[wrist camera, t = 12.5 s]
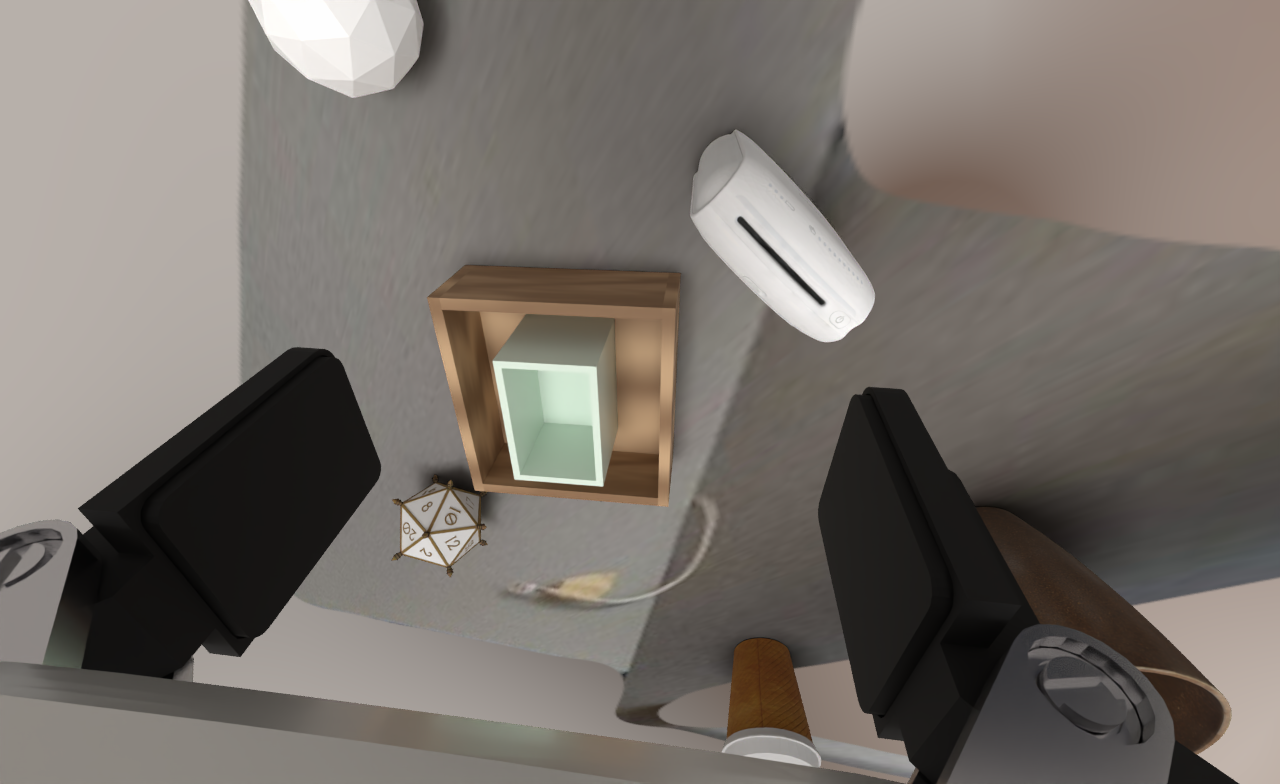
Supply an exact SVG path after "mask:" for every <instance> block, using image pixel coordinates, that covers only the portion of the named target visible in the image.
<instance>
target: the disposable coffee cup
mask: <svg viewBox="0 0 1280 784" xmlns="http://www.w3.org/2000/svg"><path fill="white" fill-rule="evenodd" d="M722 753H727V754H734V755H740V756H747V757H753V758H759V759H766V760H772V761H779V762H785V763H792V764H798V765H804V766H811V767H817V768H819V766H820V765H821V758H820V754H819V753H818V751H817V750H816V747H815V745H814V744H813V742H812V738H811V734H810V730H809V726H808V723H807V718H806V715H805V711H804V707H803V703H802V699H801V695H800V692H799V688H798V684H797V680H796V676H795V673H794V669H793V665H792V661H791V657H790V653H789V650H788V648H787V647H786V646H785V645H783V644H782V643H780V642H778V641H775V640H771V639H766V638H755V639H749V640H746V641H743V642H741V643H740V644H738V645H737V647H736V648H735V650H734V661H733V672H732V683H731V695H730V706H729V718H728V727H727V740H726V741H725V744H724V747H723V749H722Z"/></svg>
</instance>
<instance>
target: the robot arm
mask: <svg viewBox="0 0 1280 784" xmlns="http://www.w3.org/2000/svg"><path fill="white" fill-rule="evenodd" d="M380 472H381V464H380V460H379V458H378V455H377V453H376V450H375V447H374V445H373V442H372V440H371V437H370V434H369V432H368V429H367V427H366V424H365V421H364V419H363V416H362V414H361V411H360V408H359V406H358V403H357V401H356V398H355V395H354V393H353V390H352V388H351V385H350V382H349V380H348V377H347V375H346V372H345V369H344V367H343V365H342V363H341V361H340V360H339V359H337V358H335V357H334V355H333V354H332V353H331V352H330V351H328V350H325V349H315V348H301V347H295V348H291V349H289V350H287V351H286V352H284V353H283V354H282V355H281V356H279V357H278V358H277V359H275V360H274V361H273V362H271V363H270V364H269V365H267V366H266V367H265V368H263V369H262V370H261V371H259V372H258V373H257V374H255V375H254V376H253V377H251V378H250V379H249V380H247V381H246V382H245V383H243V384H242V385H241V386H239V387H238V388H237V389H235V390H234V391H233V392H232V393H230V394H229V395H228V396H226V397H225V398H224V399H222V400H221V401H220V402H218V403H217V404H216V405H214V406H213V407H212V408H210V409H209V410H208V411H206V412H205V413H204V414H202V415H201V416H200V417H198V418H197V419H196V420H194V421H193V422H192V423H191V424H189V425H188V426H186V427H185V428H184V429H182V430H181V431H180V432H179V433H177V434H176V435H175V436H173V437H172V438H171V439H169V440H168V441H167V442H165V443H164V444H163V445H161V446H160V447H159V448H157V449H156V450H155V451H153V452H152V453H151V454H149V455H148V456H147V457H145V458H144V459H143V460H142V461H140V462H139V463H138V464H136V465H135V466H133V467H132V468H131V469H130V470H128V471H127V472H126V473H125V474H123V475H122V476H120V477H119V478H118V479H116V480H115V481H114V482H112V483H111V484H110V485H108V486H107V487H106V488H104V489H103V490H102V491H100V492H99V493H98V494H96V495H95V496H94V497H93V498H91V499H90V500H88V501H87V502H86V503H85V504H83V505H82V506H81V507H79V508H78V509H79V510H80V511H81V513H82V514H83V515H84V516H85V517H86V518H87V519H88V520H89V521H90V522H91V523H92V524H93V527H92V528H91V529H89V530H88V531H87V532H86V533H84V534H82V533H81V532H80V531H79V530H78V529H77V528H76V527H75V526H74V525H73V524H72V523H70V522H67V521H61V520H46V521H38V522H33V523H29V524H25V525H21V526H18V527H15V528H12V529H10V530H7V531H4V532H2V533H0V784H904V783H899V782H894V781H890V780H885V779H879V778H875V777H870V776H866V775H861V774H856V773H849V772H843V771H836V770H830V769H824V768H817V767H811V766H804V765H798V764H792V763H785V762H779V761H772V760H766V759H759V758H753V757H747V756H740V755H734V754H727V753H720V752H714V751H706V750H699V749H691V748H684V747H677V746H669V745H663V744H655V743H648V742H641V741H634V740H626V739H619V738H612V737H604V736H597V735H589V734H583V733H575V732H568V731H560V730H554V729H546V728H539V727H532V726H524V725H517V724H509V723H502V722H494V721H486V720H479V719H472V718H464V717H457V716H449V715H442V714H434V713H426V712H419V711H412V710H404V709H396V708H389V707H381V706H373V705H366V704H358V703H351V702H343V701H335V700H327V699H320V698H313V697H305V696H297V695H290V694H281V693H273V692H266V691H258V690H250V689H242V688H234V687H226V686H219V685H211V684H202V683H195V682H193V663H194V661H193V660H194V658H193V654H194V653H195V652H196V651H197V649H198V648H199V647H200V646H201V645H203V646H204V647H205V648H206V649H207V650H208V652H209V653H213V654H221V655H229V656H236V657H241V656H242V654H243V653H244V652H245V650H246V649H247V647H248V646H249V645H250V643H251V642H252V641H253V639H254V638H256V637H258V636H260V635H262V634H263V633H264V632H265V631H266V630H267V629H268V628H269V627H270V625H271V624H272V623H273V621H274V620H275V619H276V617H277V616H278V614H279V613H280V612H281V611H282V609H283V608H284V606H285V605H286V604H287V602H288V601H289V600H290V598H291V597H292V596H293V594H294V593H295V592H296V590H297V589H298V588H299V586H300V585H301V584H302V582H303V581H304V579H305V578H306V577H307V575H308V574H309V573H310V571H311V570H312V569H313V567H314V566H315V565H316V563H317V562H318V561H319V559H320V558H321V557H322V555H323V554H324V552H325V551H326V550H327V548H328V547H329V546H330V544H331V543H332V542H333V540H334V539H335V538H336V536H337V535H338V534H339V532H340V531H341V529H342V528H343V527H344V525H345V524H346V523H347V521H348V520H349V519H350V517H351V516H352V515H353V513H354V512H355V511H356V509H357V508H358V507H359V505H360V504H361V502H362V501H363V500H364V498H365V497H366V496H367V494H368V493H369V492H370V490H371V489H372V488H373V486H374V485H375V484H376V482H377V480H378V479H379V476H380ZM818 518H819V525H820V529H821V534H822V538H823V543H824V547H825V552H826V556H827V561H828V565H829V570H830V574H831V579H832V584H833V588H834V593H835V597H836V602H837V606H838V611H839V615H840V620H841V624H842V629H843V634H844V638H845V643H846V647H847V652H848V656H849V661H850V665H851V670H852V674H853V679H854V683H855V688H856V693H857V697H858V701H859V704H860V707H861V709H862V711H863V712H864V713H867V714H872V715H873V719H874V723H875V727H876V731H877V735H878V738H885V739H892V740H901V741H904V743H905V747H906V750H907V754H908V758H909V761H910V762H911V763H912V764H913V765H914V766H915V767H916V768H915V770H914V772H913V773H912V775H911V777H910V779H909V781H908V783H907V784H1239V783H1237V782H1236V781H1234V780H1233V779H1231V778H1230V777H1229V776H1227V775H1226V774H1224V773H1223V772H1221V771H1220V770H1218V769H1217V768H1216V767H1214V766H1213V765H1211V764H1210V763H1208V762H1207V761H1205V760H1204V759H1202V758H1201V757H1199V756H1198V755H1197V754H1195V753H1194V752H1192V751H1191V750H1189V749H1188V748H1187V747H1185V746H1184V745H1182V744H1181V743H1179V742H1178V741H1176V740H1175V736H1174V723H1173V720H1172V717H1171V715H1170V713H1169V711H1168V709H1167V706H1166V704H1165V702H1164V700H1163V698H1162V697H1161V696H1160V694H1159V693H1158V692H1157V690H1156V689H1155V688H1154V686H1153V685H1152V684H1151V682H1150V681H1149V680H1148V678H1147V677H1146V676H1145V675H1143V674H1142V673H1141V672H1140V671H1139V670H1138V669H1137V668H1136V667H1135V666H1134V665H1133V664H1132V663H1131V662H1130V661H1129V660H1128V659H1126V658H1125V657H1124V656H1122V655H1121V654H1119V653H1118V652H1116V651H1115V650H1114V649H1112V648H1111V647H1109V646H1108V645H1106V644H1105V643H1103V642H1102V641H1100V640H1097V639H1095V638H1093V637H1091V636H1089V635H1087V634H1085V633H1083V632H1081V631H1078V630H1075V629H1071V628H1068V627H1064V626H1060V625H1052V624H1040V622H1039V621H1038V619H1037V617H1036V615H1035V613H1034V612H1033V610H1032V608H1031V606H1030V604H1029V603H1028V601H1027V599H1026V597H1025V595H1024V594H1023V592H1022V590H1021V588H1020V586H1019V585H1018V583H1017V581H1016V579H1015V577H1014V576H1013V574H1012V572H1011V570H1010V568H1009V567H1008V565H1007V563H1006V561H1005V559H1004V558H1003V556H1002V554H1001V552H1000V550H999V549H998V547H997V545H996V543H995V541H994V540H993V538H992V536H991V534H990V532H989V531H988V529H987V527H986V525H985V523H984V522H983V520H982V518H981V516H980V514H979V513H978V511H977V509H976V507H975V505H974V504H973V502H972V500H971V498H970V496H969V495H968V493H967V491H966V489H965V487H964V486H963V484H962V482H961V480H960V479H959V478H958V476H957V475H956V474H955V473H954V472H952V471H950V470H948V469H947V467H946V465H945V463H944V461H943V459H942V457H941V456H940V454H939V452H938V450H937V448H936V446H935V444H934V443H933V441H932V439H931V437H930V435H929V433H928V432H927V430H926V428H925V426H924V424H923V422H922V420H921V419H920V417H919V415H918V413H917V411H916V409H915V407H914V406H913V404H912V402H911V400H910V398H909V396H908V395H907V393H906V392H905V391H904V390H902V389H891V388H876V387H868V388H866V389H865V390H864V392H863V394H862V395H856V394H855V395H853V397H852V398H851V401H850V404H849V407H848V410H847V414H846V417H845V420H844V423H843V427H842V430H841V433H840V436H839V440H838V443H837V446H836V449H835V453H834V456H833V459H832V462H831V466H830V469H829V472H828V476H827V479H826V482H825V485H824V489H823V492H822V495H821V498H820V502H819V508H818Z"/></svg>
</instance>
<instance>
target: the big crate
mask: <svg viewBox="0 0 1280 784" xmlns="http://www.w3.org/2000/svg"><path fill="white" fill-rule="evenodd" d="M680 276H681V273H664V272H637V271H611V270H584V269H558V268H531V267H505V266H478V265H465V266H464V267H462V268H461V269H460V270H459V271H458V272H456V273H455V274H454V275H453V276H452V277H451V278H449V279H448V280H447V281H446V282H445V283H443V284H442V285H441V286H440V287H439V288H438V289H436V290H435V291H434V292H433V293H432V294H431V295H429V296H428V297H427V299H428V303H429V307H430V311H431V315H432V319H433V323H434V327H435V331H436V335H437V340H438V344H439V348H440V352H441V356H442V360H443V364H444V368H445V372H446V376H447V380H448V384H449V388H450V392H451V396H452V400H453V404H454V408H455V412H456V416H457V420H458V424H459V429H460V433H461V437H462V441H463V445H464V449H465V453H466V457H467V461H468V465H469V469H470V473H471V477H472V481H473V485H474V489H475V491H486V492H498V493H510V494H522V495H534V496H546V497H558V498H570V499H583V500H595V501H607V502H619V503H631V504H643V505H655V506H667V507H668V503H669V493H670V483H671V472H672V462H673V445H674V421H675V397H676V373H677V349H678V324H679V300H680ZM526 314H538V315H559V316H580V317H601V318H614V319H615V350H616V381H617V411H618V430H617V434H616V438H615V442H614V446H613V450H612V454H611V458H610V462H609V466H608V470H607V474H606V478H605V482H604V486H603V487H601V486H589V485H576V484H564V483H552V482H539V481H527V480H515V479H514V474H513V469H512V464H511V458H510V453H509V447H508V442H507V437H506V431H505V426H504V420H503V415H502V409H501V404H500V399H499V393H498V388H497V382H496V377H495V372H494V366H493V359H494V358H495V357H496V355H497V354H498V352H499V351H500V350H501V348H502V347H503V345H504V344H505V343H506V341H507V340H508V339H509V337H510V336H511V334H512V333H513V332H514V330H515V329H516V327H517V326H518V325H519V323H520V322H521V320H522V319H523V318H524V316H525V315H526Z"/></svg>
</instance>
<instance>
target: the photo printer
mask: <svg viewBox="0 0 1280 784" xmlns="http://www.w3.org/2000/svg"><path fill="white" fill-rule="evenodd" d="M690 217H691V219H692V221H693V223H694V224H695V226H696V227H697V229H698V231H699V232H700V234H701V236H702V237H703V239H704V240H705V241H706V242H707V243H708V245H709V246H710V247H711V248H712V249H713V250H714V252H715V253H716V254H717V255H718V256H719V257H720V258H721V259H722V260H723V261H724V262H725V264H726V265H727V266H728V267H729V268H730V269H731V270H732V271H733V272H734V273H735V274H736V275H737V276H738V277H739V278H740V279H741V280H742V281H743V282H744V283H745V284H746V285H747V286H748V287H749V288H750V289H751V290H752V291H753V292H754V293H755V294H756V295H757V296H758V297H759V298H760V299H762V300H763V301H764V302H765V303H766V304H767V305H768V306H769V307H770V308H771V309H773V310H774V311H775V312H776V313H777V314H778V315H779V316H781V317H782V318H783V319H784V320H785V321H787V322H788V323H789V324H790V325H792V326H794V327H795V328H797V329H798V330H799V331H801V332H803V333H804V334H806V335H808V336H810V337H812V338H814V339H816V340H818V341H821V342H833V341H837V340H840V339H842V338H843V337H844V336H845V335H846V334H847V333H848V332H849V331H850V330H851V329H853V328H854V327H856V326H858V325H860V324H861V323H862V322H863V321H864V320H865V319H866V317H867V316H868V314H869V313H870V311H871V309H872V307H873V304H874V300H875V292H874V289H873V287H872V285H871V283H870V281H869V279H868V277H867V276H866V274H865V272H864V271H863V270H862V268H861V267H860V265H859V264H858V263H857V261H856V260H855V258H854V257H853V255H852V254H851V253H850V251H849V250H848V248H847V247H846V245H845V244H844V243H843V241H842V240H841V238H840V237H839V235H838V234H837V233H836V231H835V230H834V229H833V227H832V226H831V225H830V224H829V222H828V221H827V220H826V219H825V217H824V216H823V215H822V214H821V212H820V211H819V210H818V209H817V208H816V207H815V205H814V204H813V203H812V202H811V201H810V200H809V199H808V197H807V196H806V195H805V194H804V193H803V192H802V191H801V190H800V188H799V187H798V186H797V185H796V184H795V183H794V182H793V181H792V180H791V179H790V178H789V177H788V175H787V174H786V173H785V172H784V171H783V170H782V169H781V168H780V167H779V166H778V165H777V164H776V163H775V162H774V161H773V160H772V159H771V158H770V157H769V156H768V155H767V154H766V153H765V152H764V151H763V150H762V149H761V148H760V147H759V146H758V145H757V144H756V143H755V142H753V141H752V140H751V139H750V138H749V137H747V136H746V135H744V134H743V133H741V132H740V131H738V130H734V131H733V133H732V134H727V135H724V136H721V137H719V138H717V139H716V140H714V141H713V142H712V143H710V144H709V145H708V147H707V148H706V149H705V150H704V152H703V154H702V156H701V159H700V162H699V168H698V172H697V173H695V175H694V177H693V188H692V198H691V209H690Z"/></svg>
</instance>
